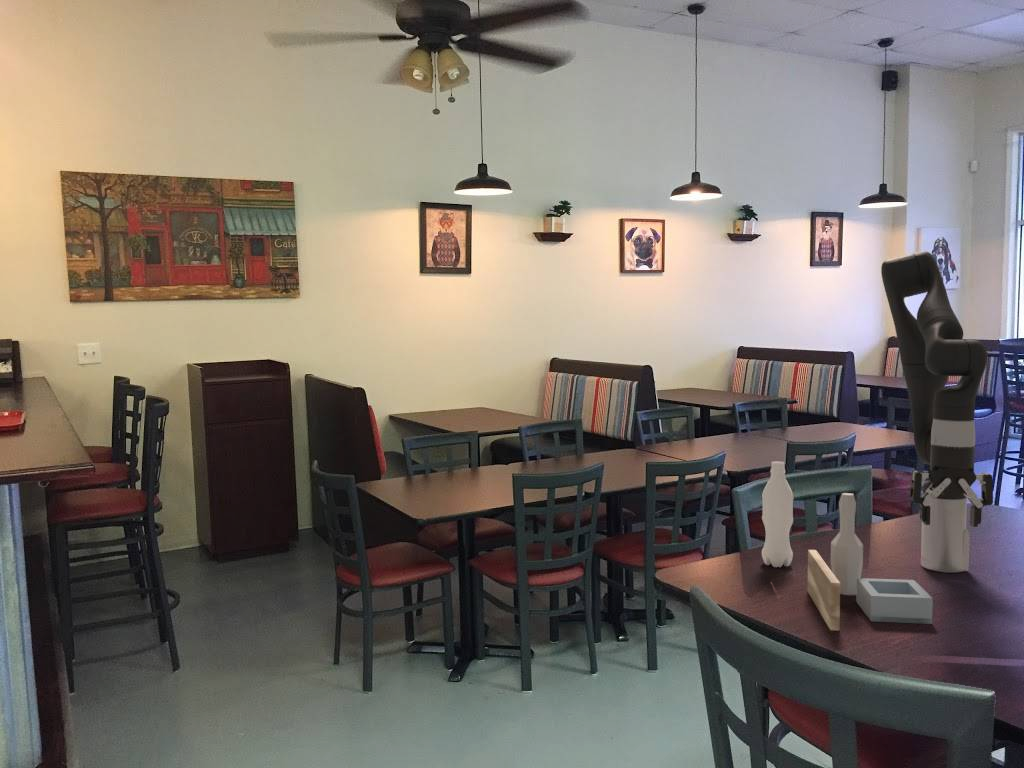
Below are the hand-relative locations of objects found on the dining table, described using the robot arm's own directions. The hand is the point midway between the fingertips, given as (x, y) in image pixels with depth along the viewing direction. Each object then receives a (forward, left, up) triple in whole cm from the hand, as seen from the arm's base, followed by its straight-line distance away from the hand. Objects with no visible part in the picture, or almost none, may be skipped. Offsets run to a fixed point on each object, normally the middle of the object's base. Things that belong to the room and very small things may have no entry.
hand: (949, 525), depth 158 cm
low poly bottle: (+16, -12, -19) cm, 27 cm away
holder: (+10, 0, -18) cm, 21 cm away
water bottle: (+27, -33, -19) cm, 46 cm away
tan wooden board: (+13, 0, -19) cm, 23 cm away
